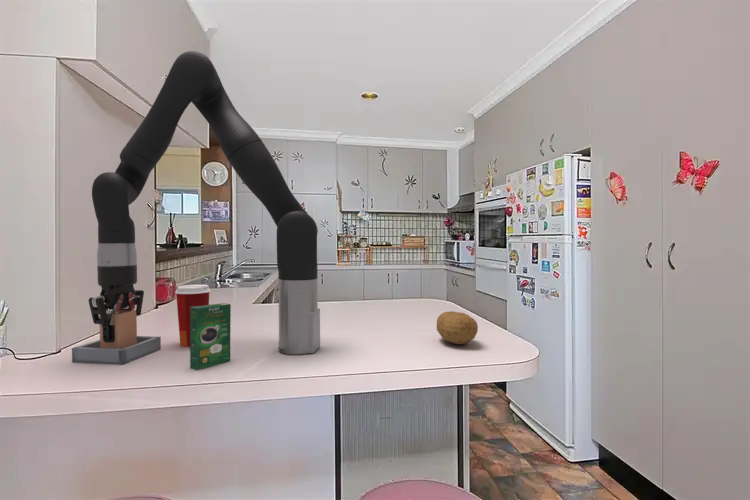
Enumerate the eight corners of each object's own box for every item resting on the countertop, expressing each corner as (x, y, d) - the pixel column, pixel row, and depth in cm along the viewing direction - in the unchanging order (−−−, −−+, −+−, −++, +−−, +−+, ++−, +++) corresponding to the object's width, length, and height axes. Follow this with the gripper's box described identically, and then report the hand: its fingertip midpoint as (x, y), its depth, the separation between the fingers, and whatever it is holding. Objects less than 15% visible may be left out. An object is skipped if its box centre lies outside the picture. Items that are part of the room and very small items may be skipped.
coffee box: (224, 360, 91) (223, 301, 90) (232, 363, 89) (231, 302, 88) (189, 370, 84) (188, 306, 84) (197, 373, 82) (196, 308, 82)
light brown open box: (137, 344, 95) (136, 310, 94) (120, 350, 90) (119, 314, 90) (117, 344, 95) (116, 309, 95) (100, 349, 90) (99, 313, 90)
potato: (459, 335, 114) (460, 306, 114) (486, 348, 100) (487, 316, 100) (427, 337, 111) (427, 308, 111) (450, 351, 98) (450, 318, 98)
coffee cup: (217, 341, 107) (216, 284, 106) (200, 350, 98) (200, 288, 98) (186, 341, 107) (185, 283, 107) (167, 349, 99) (166, 287, 99)
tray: (160, 351, 98) (160, 336, 98) (123, 367, 86) (122, 350, 86) (115, 349, 99) (115, 334, 99) (72, 364, 88) (71, 348, 87)
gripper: (107, 266, 84) (109, 348, 85) (154, 261, 99) (155, 332, 99) (75, 265, 85) (77, 346, 86) (125, 261, 100) (127, 331, 100)
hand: (119, 338), depth 93 cm, fingers closed on light brown open box, 5 cm apart
